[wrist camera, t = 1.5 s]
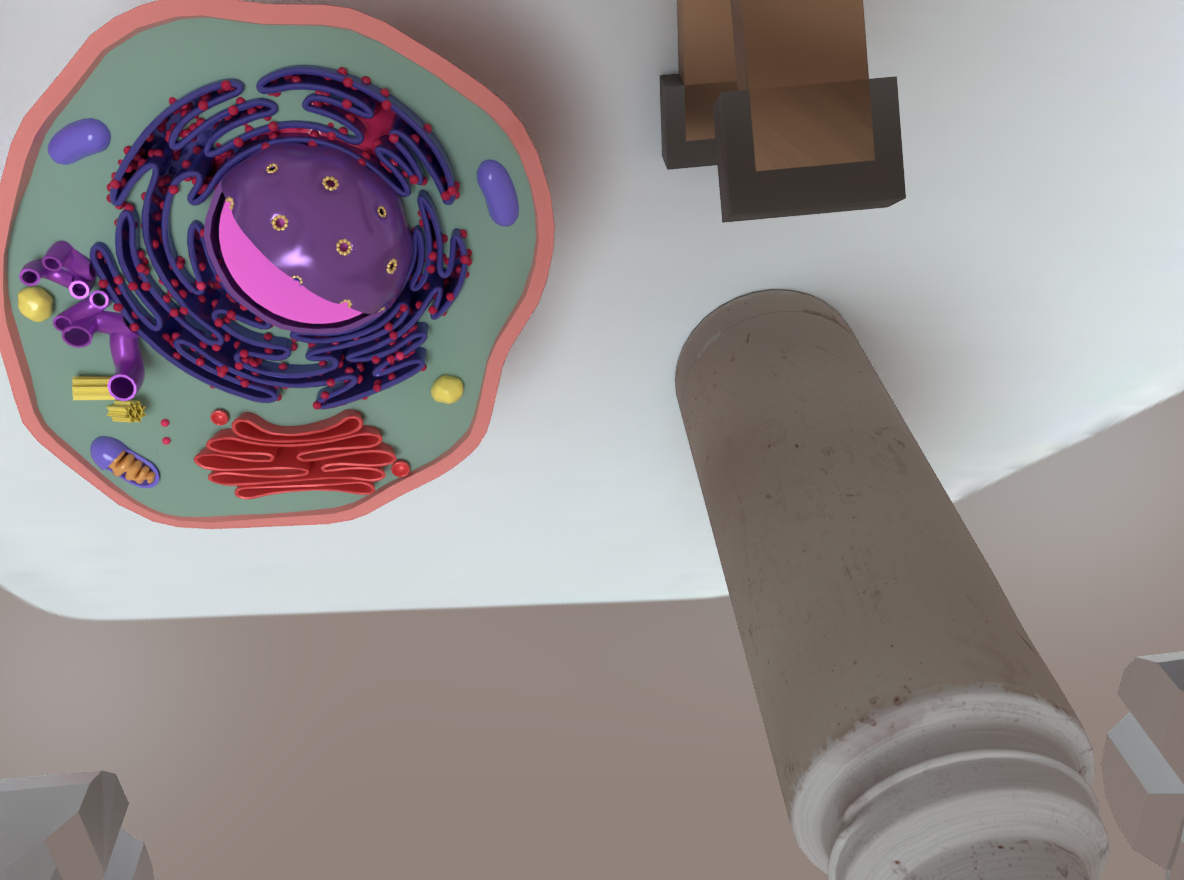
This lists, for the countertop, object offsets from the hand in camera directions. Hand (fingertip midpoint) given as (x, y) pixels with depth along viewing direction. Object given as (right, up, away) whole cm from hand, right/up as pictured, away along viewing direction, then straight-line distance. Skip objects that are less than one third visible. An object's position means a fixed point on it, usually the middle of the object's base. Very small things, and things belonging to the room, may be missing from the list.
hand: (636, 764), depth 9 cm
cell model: (-11, +11, +33) cm, 36 cm away
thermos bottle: (+7, +6, +38) cm, 39 cm away
